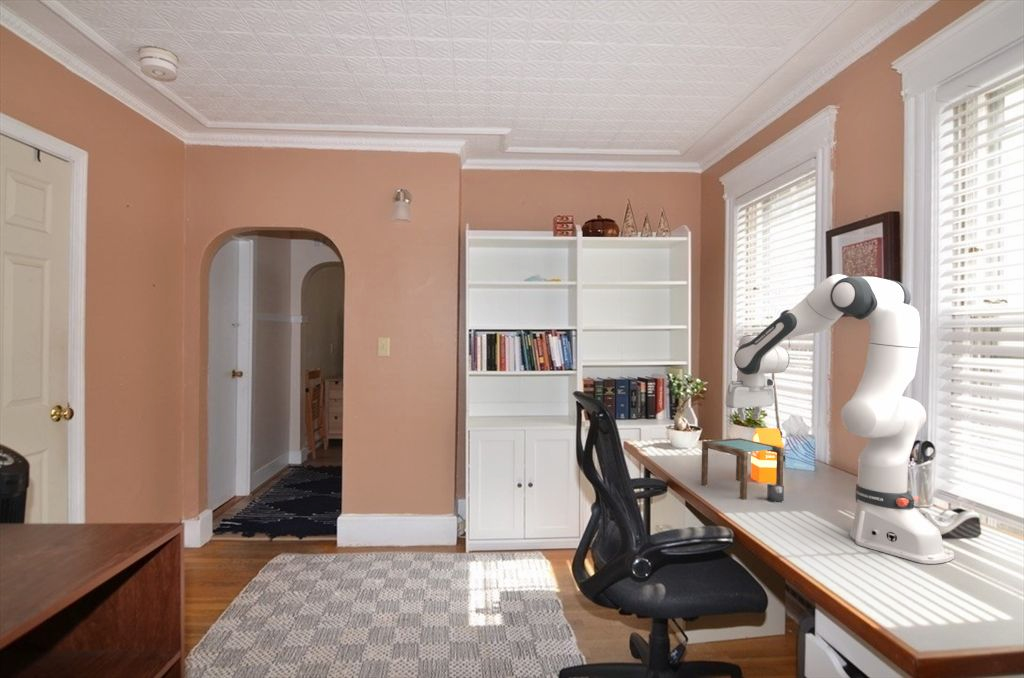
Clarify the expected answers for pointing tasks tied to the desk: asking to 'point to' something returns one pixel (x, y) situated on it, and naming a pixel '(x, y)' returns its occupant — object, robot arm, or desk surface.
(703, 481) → the teal-topped side table
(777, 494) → the iron weight
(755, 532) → the desk surface
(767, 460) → the orange juice
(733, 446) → the trapdoor
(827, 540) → the desk surface
